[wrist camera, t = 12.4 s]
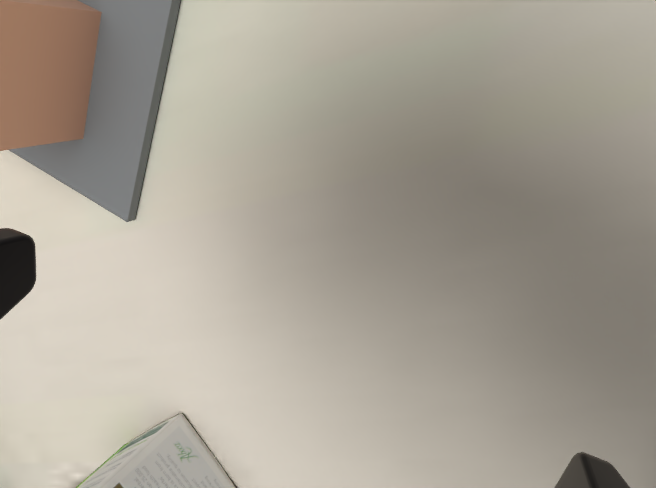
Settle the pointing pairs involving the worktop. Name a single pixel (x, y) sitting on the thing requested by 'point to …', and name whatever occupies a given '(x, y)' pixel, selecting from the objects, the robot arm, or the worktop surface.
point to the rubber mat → (116, 106)
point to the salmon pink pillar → (45, 70)
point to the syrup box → (162, 461)
